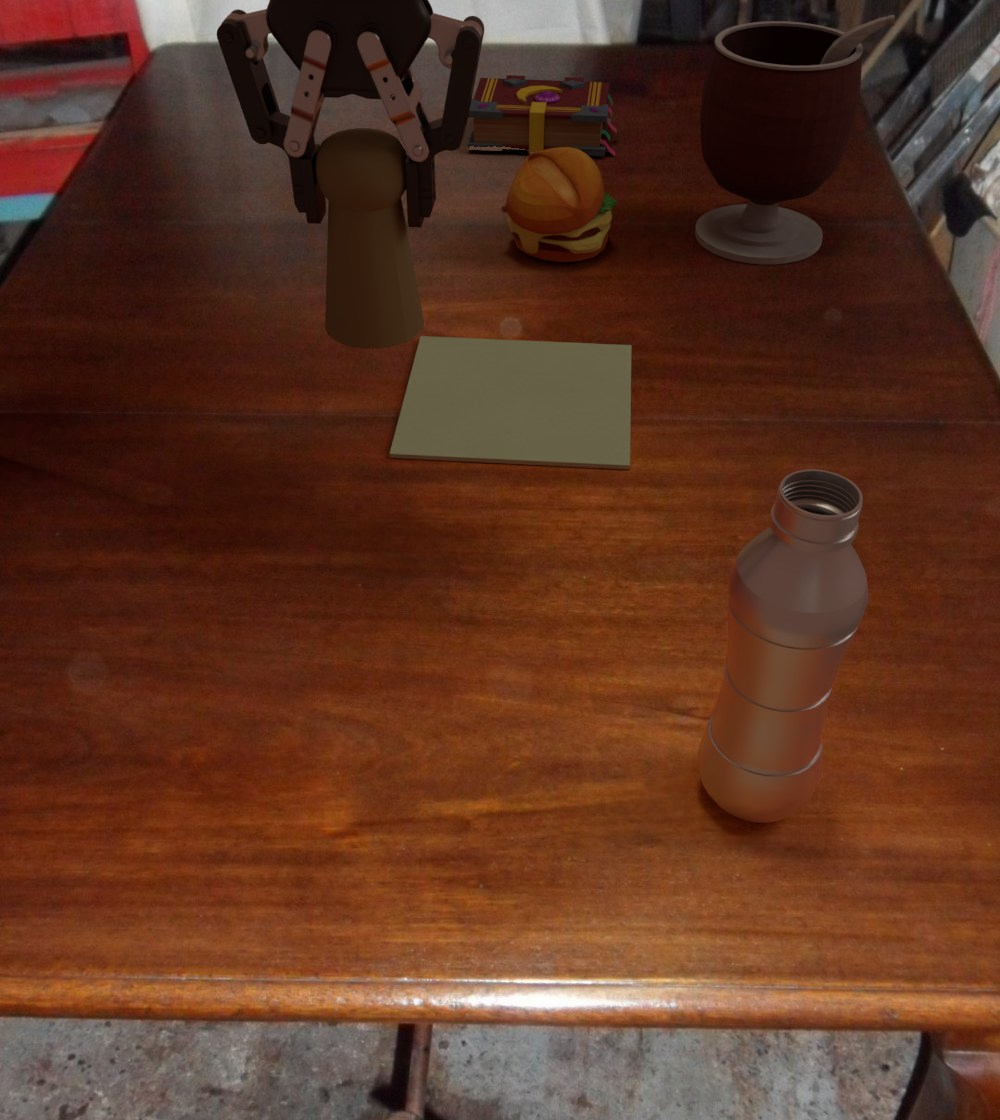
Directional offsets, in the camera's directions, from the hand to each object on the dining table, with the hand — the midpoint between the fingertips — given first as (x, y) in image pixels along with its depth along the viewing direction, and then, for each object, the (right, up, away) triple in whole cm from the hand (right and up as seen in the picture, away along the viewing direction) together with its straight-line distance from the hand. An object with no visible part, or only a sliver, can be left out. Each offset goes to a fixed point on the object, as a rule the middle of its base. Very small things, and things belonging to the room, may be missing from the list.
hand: (366, 218), depth 68 cm
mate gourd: (+34, +18, +48) cm, 61 cm away
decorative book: (+13, +37, +66) cm, 77 cm away
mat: (+9, -3, +27) cm, 29 cm away
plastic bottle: (+22, -33, -2) cm, 39 cm away
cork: (0, -5, +5) cm, 7 cm away
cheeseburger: (+13, +16, +46) cm, 51 cm away
